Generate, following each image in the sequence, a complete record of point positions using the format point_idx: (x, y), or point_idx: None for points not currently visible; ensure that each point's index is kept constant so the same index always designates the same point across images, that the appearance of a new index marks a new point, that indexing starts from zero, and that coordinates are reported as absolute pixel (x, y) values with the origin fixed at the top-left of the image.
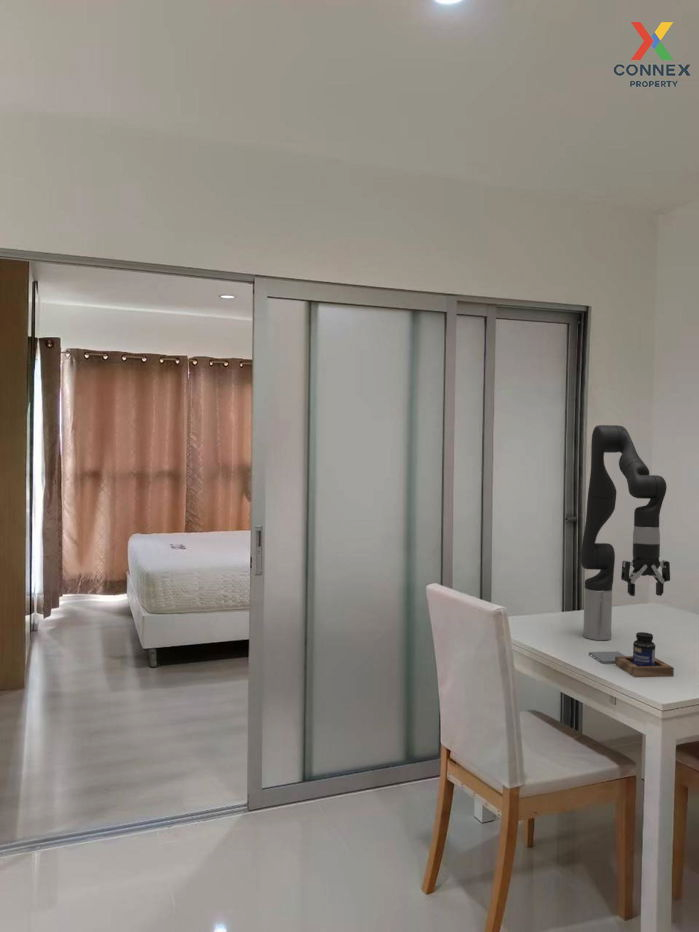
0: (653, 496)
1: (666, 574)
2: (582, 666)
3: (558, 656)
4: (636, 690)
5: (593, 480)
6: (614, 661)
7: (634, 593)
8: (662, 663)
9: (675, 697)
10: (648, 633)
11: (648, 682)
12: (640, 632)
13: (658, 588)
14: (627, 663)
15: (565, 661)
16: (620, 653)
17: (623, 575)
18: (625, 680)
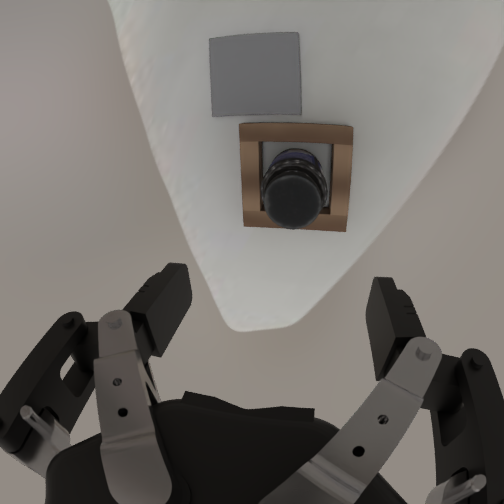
0: None
1: (435, 444)
2: (160, 137)
3: (135, 65)
4: (216, 285)
5: None
6: (244, 114)
7: (184, 311)
8: (339, 196)
9: (267, 320)
10: (313, 195)
11: (261, 251)
12: (289, 179)
13: (375, 335)
14: (244, 185)
15: (137, 102)
16: (296, 49)
17: (57, 346)
18: (218, 234)
